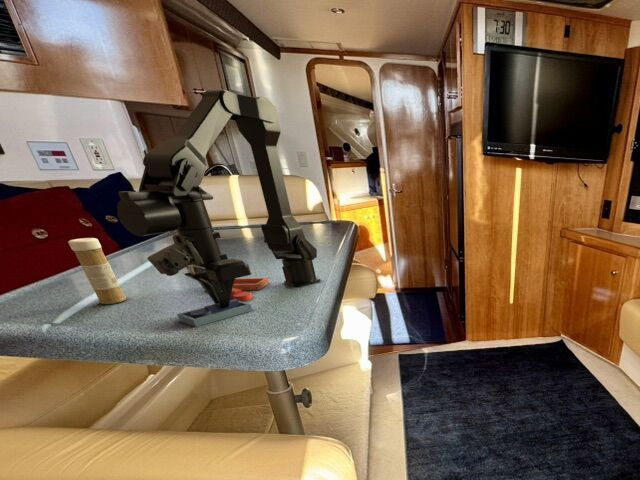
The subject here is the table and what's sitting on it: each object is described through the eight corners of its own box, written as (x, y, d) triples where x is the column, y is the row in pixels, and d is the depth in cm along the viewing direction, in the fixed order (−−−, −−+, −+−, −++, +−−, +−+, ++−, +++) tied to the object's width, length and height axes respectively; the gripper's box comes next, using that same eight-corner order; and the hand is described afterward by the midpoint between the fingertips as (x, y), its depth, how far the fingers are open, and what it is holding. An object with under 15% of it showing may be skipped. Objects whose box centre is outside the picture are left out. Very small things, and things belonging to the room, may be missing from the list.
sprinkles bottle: (110, 298, 91) (79, 237, 85) (131, 298, 92) (103, 237, 85) (94, 305, 87) (60, 241, 81) (116, 304, 88) (85, 241, 81)
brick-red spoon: (218, 296, 94) (215, 288, 93) (233, 292, 96) (230, 285, 95) (240, 302, 90) (237, 294, 89) (255, 298, 92) (253, 290, 92)
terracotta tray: (269, 283, 103) (267, 277, 103) (258, 290, 98) (257, 284, 97) (219, 284, 102) (217, 278, 102) (206, 291, 97) (203, 285, 96)
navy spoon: (234, 306, 86) (231, 298, 85) (243, 308, 85) (240, 300, 84) (188, 318, 79) (184, 310, 79) (197, 321, 78) (194, 313, 77)
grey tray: (236, 305, 88) (234, 299, 87) (252, 310, 85) (250, 304, 85) (179, 320, 79) (176, 314, 79) (195, 326, 77) (193, 320, 76)
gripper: (119, 229, 73) (156, 310, 81) (170, 238, 65) (205, 327, 73) (186, 222, 81) (214, 296, 89) (239, 229, 73) (264, 310, 81)
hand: (222, 306), depth 83 cm, fingers closed on navy spoon, 2 cm apart
